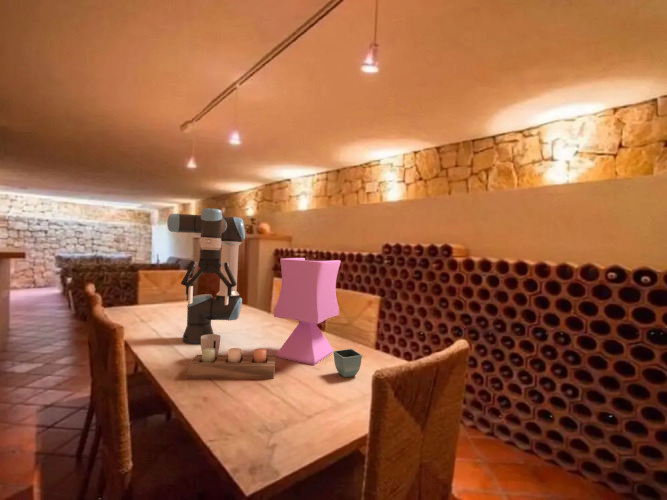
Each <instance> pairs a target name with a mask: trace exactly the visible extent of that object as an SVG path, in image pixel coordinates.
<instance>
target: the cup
mask: <svg viewBox="0 0 667 500" xmlns="http://www.w3.org/2000/svg"><path fill="white" fill-rule="evenodd" d="M220 342H221V335H220V334H216V333H214V334H208V335H203V336H201V344H200V348H201V349H200V350H201V351H202V350H203V349H205V348H214V349H215V355H219V351H220V347H221V346H220V345H221V343H220Z"/></svg>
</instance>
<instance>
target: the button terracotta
mask: <svg viewBox="0 0 667 500" xmlns="http://www.w3.org/2000/svg"><path fill="white" fill-rule="evenodd" d="M253 355H254V363H266V355H267V349H266V348H255V349H254V350H253Z"/></svg>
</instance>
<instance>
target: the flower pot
mask: <svg viewBox="0 0 667 500" xmlns="http://www.w3.org/2000/svg"><path fill="white" fill-rule="evenodd" d="M362 358H363V354H361V353H359V352H358V351H356V350H354V349H352V348H347V349H341V350H340V349H339V350H333V360H334V366H335V369H336V371H337V372H338V374H339V375H341V376H342V377H343V378H349V377H351V378H352V377H355V376H357V374H358V372H359V371H360V368H361V366H362Z"/></svg>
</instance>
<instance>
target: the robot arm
mask: <svg viewBox="0 0 667 500" xmlns="http://www.w3.org/2000/svg"><path fill="white" fill-rule="evenodd" d="M166 223H167V229H168V231H170V232H172V233H183V234H184V233H187V234H189V233H190V234H195V235H197V236H199V237H200V239H199V241H200V242H199V244H200V245H199V247H200V248H201V249H200V250H199V261H197V260H191V261H190V263H189V264H190V265H189V268H188V269H187V270H186V273H185V275H184V277H183V278H182V280H181V282H180V285H182V286H185V295H186V296H188V297H187V299H188V300H187V306H186V307H187V311H186V314H187V316H186V326H185V330H184V332H183V334H182V342H183V344H184V343H185V344H190V345H198V344H199V345H201V336H203V335H208V334H215V333H214V331H213V327H212V321H229V322H230V321H237V320H238V319H239V318H240V313H241V309H242V306H243V305H242V304H243V298H242V297H240V293H239V292H238V291H237V289H238V267H239V246H240V245H241V244H243V242H242V241H243V240H245V239H246V228H245V222H244V220H243V218H242V217H236V216H223V211H222V210H221V209H219V208H209V207H208V208H202V210H201V214H188V213H170V214H169V215H168V217H167V222H166ZM220 249H221V250H220ZM197 266H199V270H198V271H197V272H196V273H195V274H194V275H193V276H192V274H193V272H194V270H195V269H196V267H197ZM203 273H204V274H216V275H217V276H218V277H219V291H218V292H217V293H216V294H215V295H216V296H215V297H213V295H212V294H210V293H208V294H207V293H205V294H198V295H193V294H194V285H192V284H193V283H194V282H196V281H197V279H198V278H199V277H200V276H201V275H202V274H203ZM191 276H192V278H191V279H190V277H191Z"/></svg>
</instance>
